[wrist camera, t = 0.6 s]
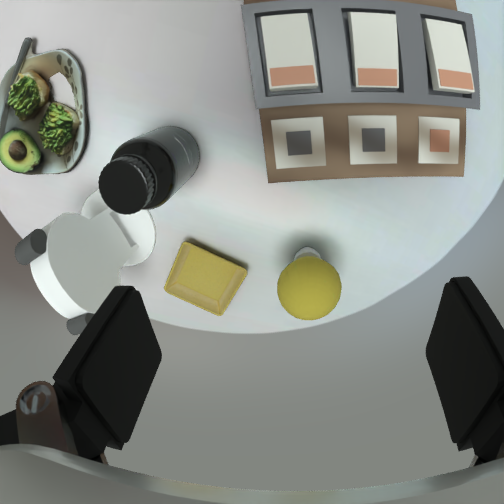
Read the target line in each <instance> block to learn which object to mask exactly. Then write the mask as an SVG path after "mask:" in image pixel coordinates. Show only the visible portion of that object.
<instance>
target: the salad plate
mask: <svg viewBox="0 0 504 504" xmlns="http://www.w3.org/2000/svg"><path fill="white" fill-rule="evenodd" d="M58 72H60V73H61V74H63V75H64V76H65V77H66V79H67V81H68V82H69V83H70V85H71V88H72V91H73V94H74V100H75V107H76V111H74V110H72V109H71V108H69V107H67V106H66V105H63V104H61V103H58V102H56V101H55V100H54V98H53V96H52V94H51V92H50V89H51V85H50V83H49V78H50V77H51V76H53V75H54V74H56V73H58ZM87 132H88V123H87V118H86V114H85V94H84V88H83V82H82V71H81V68H80V66H79V64H78V62H77V60H76V59H75V58H74V57H73V56H72V55H71V54H70V53H69V52H68V51H67V50H65V49H57V50H54V51H49V52H45V53H41V54H34V53H33V52H32V39H31V38H29V37H28V38H25V40H24V42H23V44H22V47H21V50H20V53H19V56H18V59H17V62H16V63H15V64H14V65H13V66H12V67H11V68H10V69H9V70H8V71H7V72H6V74H5V76H4V78H3V79H2V82H1V84H0V160H1V162H2V164H3V165H4V166H5V167H6V168H8V169H9V170H11V171H13V172H16V173H22V174H27V175H35V174H60V173H68V172H70V171H71V170H72V169H73V168H74V167H75V166H76V164H77V163H78V161H79V160H80V158H81V156H82V154H83V151H84V149H85V146H86V139H87Z"/></svg>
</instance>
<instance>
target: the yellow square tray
mask: <svg viewBox="0 0 504 504" xmlns="http://www.w3.org/2000/svg"><path fill="white" fill-rule="evenodd" d="M246 275H247V270H246V269H245V268H243V267H241V266H239V265H237V264H235V263H232V262H230V261H228V260H226V259H224V258H222V257H219V256H217V255H215V254H213V253H211V252H209V251H207V250H204V249H202V248H200V247H198V246H196V245H194V244H192V243H189V242H183V243H182V245H181V247H180V250H179V252H178V254H177V257H176V259H175V262H174V264H173V267H172V269H171V272H170V274H169V276H168V279H167V281H166V284H165V286H164V290H165V291H166V292H167V293H169V294H171V295H173V296H175V297H177V298H180V299H182V300H184V301H186V302H189V303H191V304H193V305H195V306H197V307H199V308H202V309H204V310H206V311H208V312H211V313H213V314H215V315H217V316H221V315H223V313H224V312H225V310H226V308H227V307H228V305H229V303H230V302H231V300H232V298H233V297H234V295H235V293H236V292H237V290H238V288H239V287H240V285H241V284H242V282H243V280H244V279H245V277H246Z"/></svg>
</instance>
